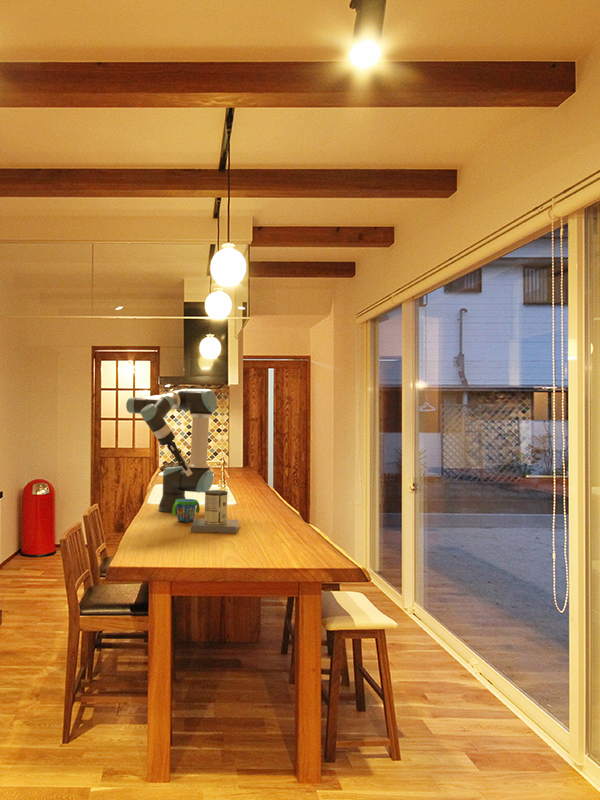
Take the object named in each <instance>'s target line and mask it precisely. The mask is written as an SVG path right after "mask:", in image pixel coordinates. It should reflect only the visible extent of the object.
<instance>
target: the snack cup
mask: <svg viewBox="0 0 600 800" xmlns="http://www.w3.org/2000/svg"><path fill="white" fill-rule="evenodd" d="M176 508H177V512H176ZM200 510H201V509H200V503H199V501H198V500H197V499H193V498H186V499H177V500H175V503H174V505H173V509H172V512H171V515H172V516H174V517H175V516H177V517H176V518H177V520H178V522H181V523H189V522H194V520H195V515H196V513H197V514H199V513H200Z"/></svg>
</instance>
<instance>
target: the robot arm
mask: <svg viewBox="0 0 600 800" xmlns="http://www.w3.org/2000/svg"><path fill="white" fill-rule="evenodd" d="M125 403H126V406H125V408H126V411H127V412H128V413H129V414H139V415H141V417H142V419H143V421H144V422H145V423H146V425H147V426H148V428H149V429H150V431H151V432H152V436H155V438H156V439H157V441H158V442H159V444H160V445H161V446H166V447H167V448H166V449H168V451H169V452H170V453H171V455H173V457H174V458H175V460H176V461H177V463H178V465H177V466H170V467H166V468H164V469H163V475H162V497H161V499H160V501H159V504H158V511H160V512H164V513H172V509H173V505H174V503H175V500H177V499H187V498H186V492H190V493H191V492H192V493H197V494H200V493H204V494H205V491H209V490H210V489H211V487H212V486H213V482H214V475H213V474H214V473H213V471H212V470H211V469H210V466H209V465H208V446H209V445H208V444H209V425H210V418H211V417H212V416H213V412H216V410H217V407H218V406H217V405H218V400H217V395H216V394H215V392H214V391H213V390H212V389H206V388H182V389H178V390H171V391H168V392H167V393H166V394H165V393H164V394H159V395H158V394H155V395H150V396H144V397H143V396H142V397H129V398H128V399H127V400H126V402H125ZM172 410H173V411H174V410H178V411H187V412H189V415H190V416H191V417H192V423H191V442H190V457H189V458H190V459H189V460H190V461H189V462H190V463H189V464H188V461H187V460H186V458H185V457H184V456H183V454H182V450H180V449H179V448H178V445H177V444H176V442H175V441H174V440H175V438H176V436H175V434H174V432H173V431H172V430H171V428H170V426H169V425H168V423H167V422H166V420H165V419H164V418H165V417H166V416H167V415H168V413H169V412H170V411H172ZM176 513H177V508H176Z"/></svg>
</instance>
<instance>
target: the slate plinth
mask: <svg viewBox="0 0 600 800" xmlns="http://www.w3.org/2000/svg"><path fill="white" fill-rule="evenodd" d="M239 520H240V519H227V521H226V522H227V523H225V524H206V523H204V518H194V520H193V521H192V523H191V524H190V533H200V532H219V533H218V534H237V532H238V529H239V523H240V522H239Z"/></svg>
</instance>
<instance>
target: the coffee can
mask: <svg viewBox="0 0 600 800" xmlns="http://www.w3.org/2000/svg"><path fill="white" fill-rule="evenodd" d="M228 494H229V492H228V491H226V490H221V489H220V490H219V489H216V490H212V489H211V490H210V489H209V490H208V491H205V492H204V518H203V519H204V523H206V524H225V523H227V522H226V521H227V520H228V519H227V517H228V516H227V515H228V513H227V512H228Z"/></svg>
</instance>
